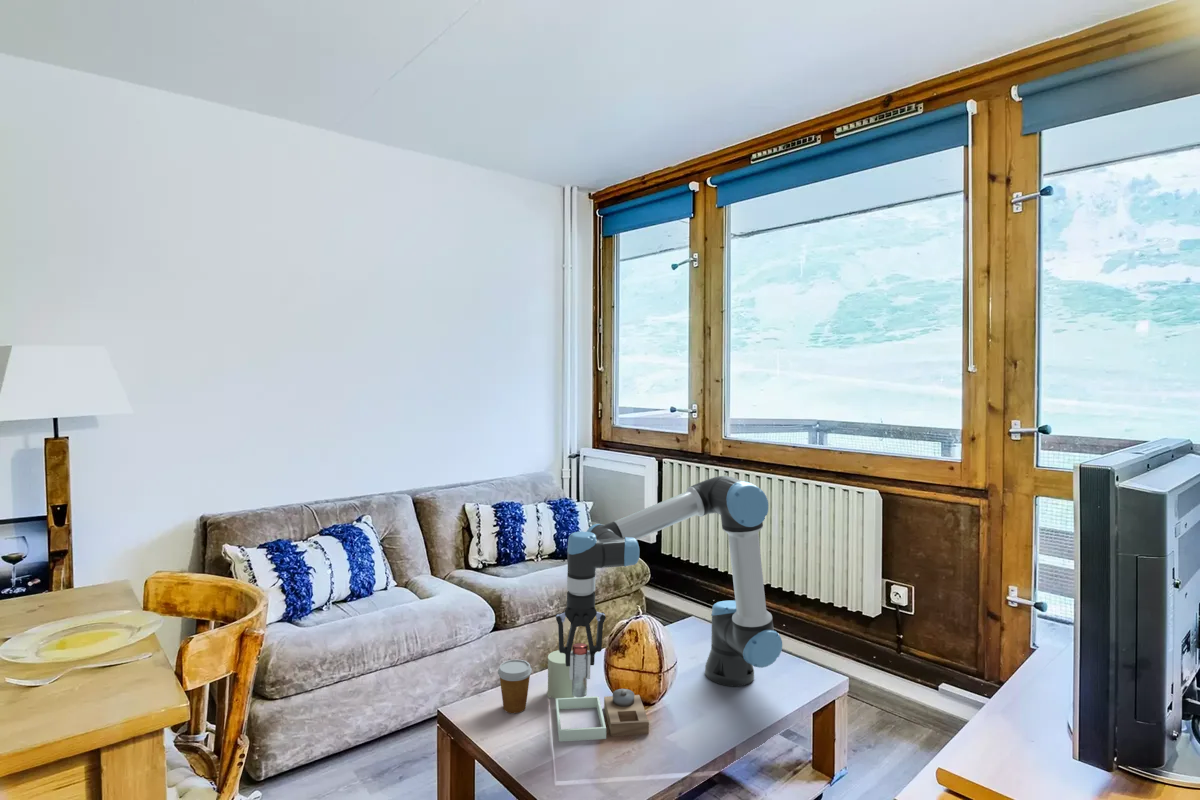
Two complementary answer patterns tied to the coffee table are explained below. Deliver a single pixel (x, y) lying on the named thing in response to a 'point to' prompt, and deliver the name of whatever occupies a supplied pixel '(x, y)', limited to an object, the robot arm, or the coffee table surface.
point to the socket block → (625, 713)
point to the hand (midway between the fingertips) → (579, 676)
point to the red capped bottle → (579, 670)
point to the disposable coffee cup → (514, 684)
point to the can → (558, 676)
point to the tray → (580, 732)
